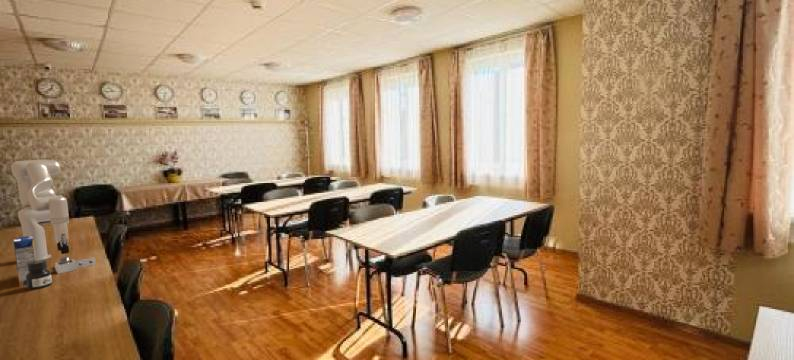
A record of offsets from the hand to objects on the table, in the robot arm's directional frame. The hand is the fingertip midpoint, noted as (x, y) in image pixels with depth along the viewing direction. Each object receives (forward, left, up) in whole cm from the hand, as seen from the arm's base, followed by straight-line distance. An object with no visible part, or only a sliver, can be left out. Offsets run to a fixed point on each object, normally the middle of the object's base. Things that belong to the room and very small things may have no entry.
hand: (63, 251), depth 213 cm
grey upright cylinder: (+1, 0, -10) cm, 10 cm away
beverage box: (+8, -15, -11) cm, 20 cm away
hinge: (-4, +5, -10) cm, 12 cm away
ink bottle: (+22, -13, -11) cm, 27 cm away
